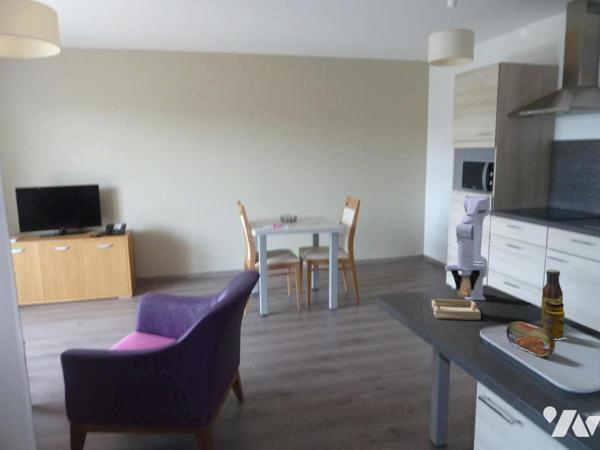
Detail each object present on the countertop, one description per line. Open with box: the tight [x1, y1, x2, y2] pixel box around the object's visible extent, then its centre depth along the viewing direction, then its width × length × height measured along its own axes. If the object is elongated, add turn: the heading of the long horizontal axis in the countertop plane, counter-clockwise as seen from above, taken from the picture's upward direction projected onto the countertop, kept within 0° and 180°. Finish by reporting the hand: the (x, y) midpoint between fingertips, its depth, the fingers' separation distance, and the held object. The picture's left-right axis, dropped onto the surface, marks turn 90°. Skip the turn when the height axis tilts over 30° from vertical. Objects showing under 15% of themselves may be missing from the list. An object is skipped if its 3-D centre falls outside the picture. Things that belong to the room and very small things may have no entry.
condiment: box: [541, 300, 565, 339], centre depth 140 cm, size 7×8×12 cm
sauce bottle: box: [541, 269, 564, 325], centre depth 149 cm, size 6×6×20 cm
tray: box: [430, 298, 482, 321], centre depth 165 cm, size 14×16×3 cm
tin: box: [505, 320, 556, 358], centre depth 131 cm, size 15×3×8 cm, turn 25°
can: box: [457, 273, 472, 298], centre depth 164 cm, size 5×5×8 cm
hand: (464, 289), depth 164 cm, fingers closed on can, 5 cm apart
